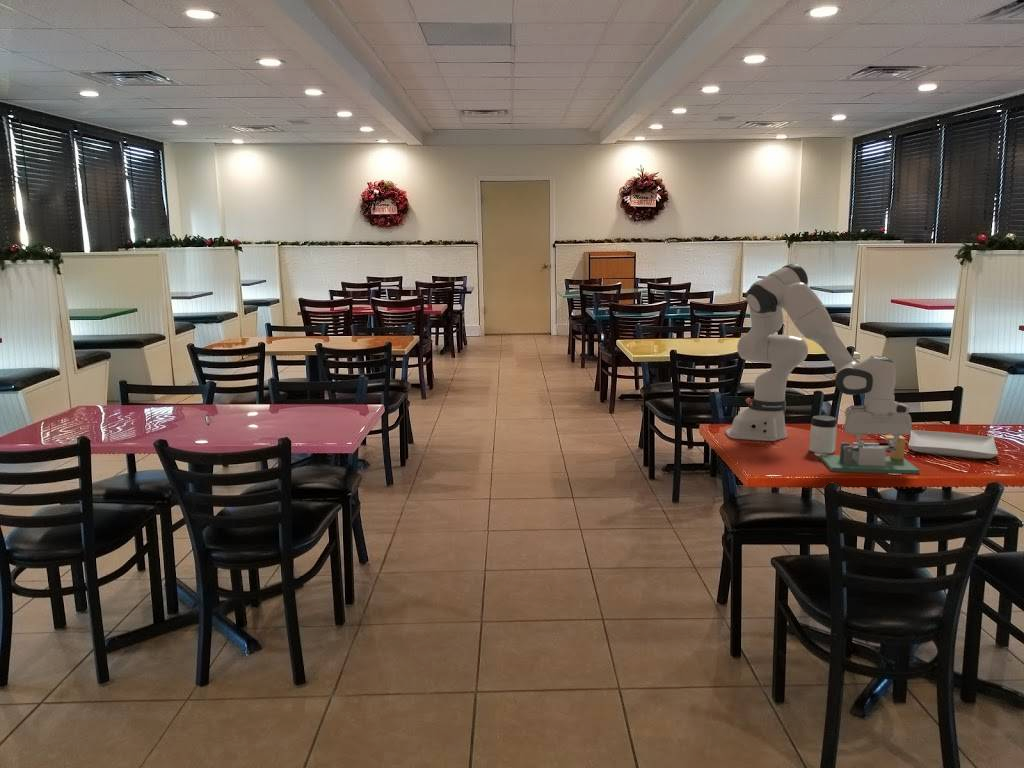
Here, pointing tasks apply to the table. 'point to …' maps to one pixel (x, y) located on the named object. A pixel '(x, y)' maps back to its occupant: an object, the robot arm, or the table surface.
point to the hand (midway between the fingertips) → (876, 446)
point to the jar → (823, 434)
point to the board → (864, 468)
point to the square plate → (953, 444)
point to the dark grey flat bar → (856, 448)
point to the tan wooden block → (897, 447)
